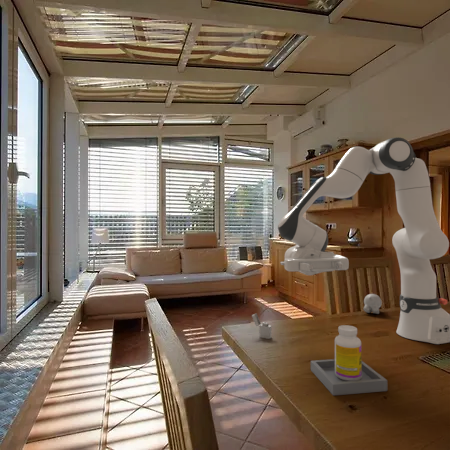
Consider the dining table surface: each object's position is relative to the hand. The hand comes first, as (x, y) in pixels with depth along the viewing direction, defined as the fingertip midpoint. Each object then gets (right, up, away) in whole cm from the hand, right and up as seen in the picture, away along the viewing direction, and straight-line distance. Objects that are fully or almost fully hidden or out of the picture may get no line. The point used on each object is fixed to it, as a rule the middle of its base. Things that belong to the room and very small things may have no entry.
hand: (325, 267), depth 100 cm
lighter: (-17, -28, +22) cm, 40 cm away
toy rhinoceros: (+37, -27, +52) cm, 69 cm away
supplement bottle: (+2, -27, -12) cm, 30 cm away
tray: (+2, -28, -12) cm, 31 cm away
